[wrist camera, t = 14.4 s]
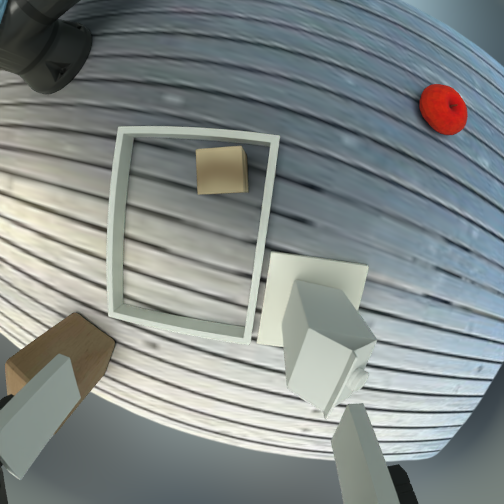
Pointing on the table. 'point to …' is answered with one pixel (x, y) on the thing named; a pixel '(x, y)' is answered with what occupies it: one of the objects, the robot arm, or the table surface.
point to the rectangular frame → (118, 221)
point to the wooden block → (68, 344)
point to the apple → (443, 109)
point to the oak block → (221, 170)
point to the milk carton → (324, 345)
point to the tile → (308, 270)
